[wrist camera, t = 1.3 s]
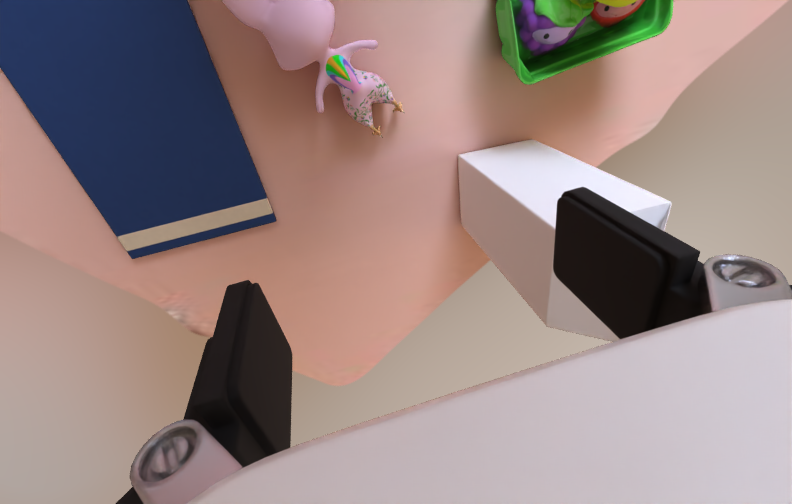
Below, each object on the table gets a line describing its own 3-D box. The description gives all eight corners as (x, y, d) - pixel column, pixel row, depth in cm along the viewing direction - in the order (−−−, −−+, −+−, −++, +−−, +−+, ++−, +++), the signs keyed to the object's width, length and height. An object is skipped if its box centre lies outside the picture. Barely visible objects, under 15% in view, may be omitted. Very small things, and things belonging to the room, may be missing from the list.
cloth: (-73, -45, 20) (-80, -47, 20) (152, -86, 21) (150, -88, 21) (134, 257, 31) (132, 259, 30) (276, 219, 32) (276, 221, 31)
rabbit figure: (407, 83, 30) (239, -114, 20) (438, 103, 25) (240, -137, 16) (356, 141, 31) (176, -18, 22) (376, 170, 27) (161, -15, 17)
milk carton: (460, 224, 36) (586, 376, 20) (456, 153, 32) (608, 270, 16) (527, 208, 37) (700, 342, 21) (531, 137, 33) (746, 234, 17)
